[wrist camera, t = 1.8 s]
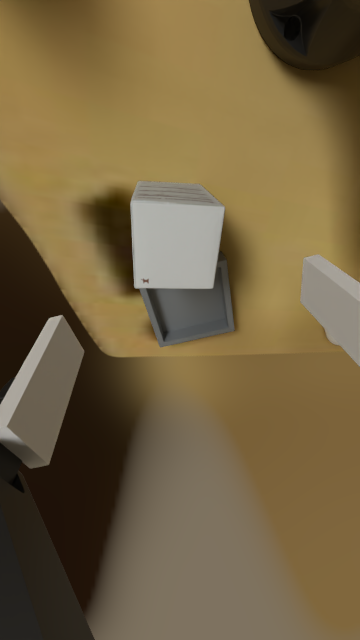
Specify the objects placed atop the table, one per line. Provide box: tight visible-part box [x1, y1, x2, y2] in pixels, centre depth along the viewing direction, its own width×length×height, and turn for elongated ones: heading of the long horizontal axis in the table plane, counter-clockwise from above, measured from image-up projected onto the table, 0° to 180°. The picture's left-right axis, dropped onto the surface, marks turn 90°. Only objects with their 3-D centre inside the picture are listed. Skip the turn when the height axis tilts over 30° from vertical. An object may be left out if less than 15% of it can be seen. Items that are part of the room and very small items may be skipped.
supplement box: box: [131, 181, 225, 289], centre depth 26 cm, size 7×7×13 cm
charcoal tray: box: [139, 251, 235, 347], centre depth 37 cm, size 12×12×3 cm
